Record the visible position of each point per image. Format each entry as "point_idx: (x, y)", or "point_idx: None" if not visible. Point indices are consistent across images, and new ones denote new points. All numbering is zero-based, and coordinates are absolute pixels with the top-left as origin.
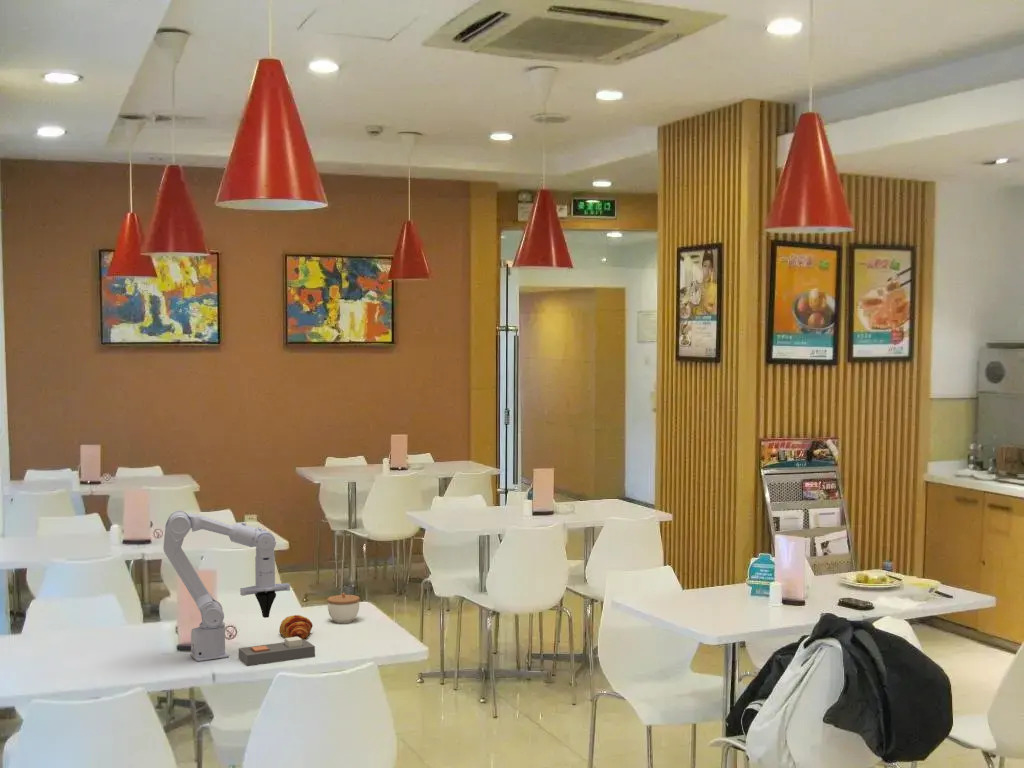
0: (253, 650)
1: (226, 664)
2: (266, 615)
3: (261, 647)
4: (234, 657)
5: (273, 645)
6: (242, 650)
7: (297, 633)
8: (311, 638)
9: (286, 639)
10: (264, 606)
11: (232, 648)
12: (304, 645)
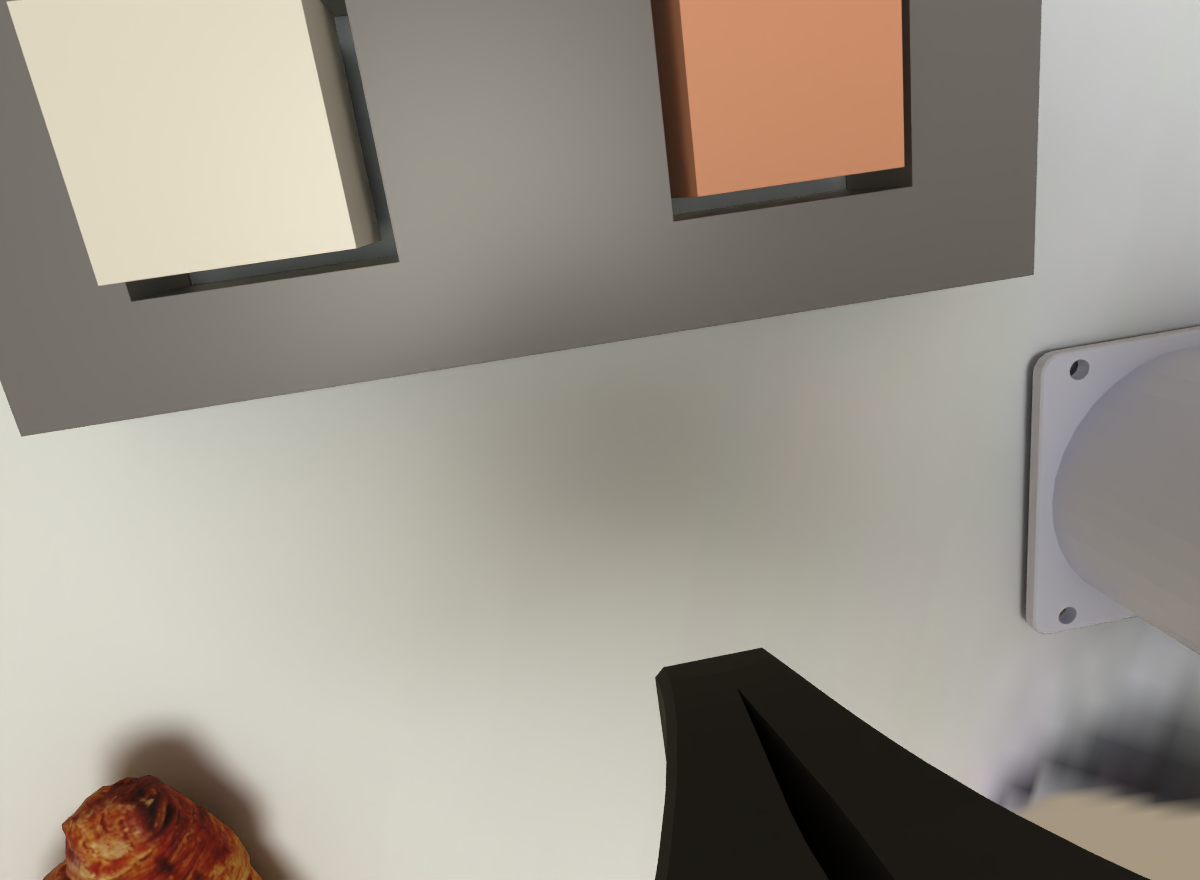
0: (890, 38)
1: (1141, 46)
2: (736, 676)
3: (768, 84)
4: (978, 337)
5: (552, 243)
6: (1023, 121)
7: (138, 819)
8: (3, 871)
9: (331, 136)
10: (948, 817)
11: (904, 702)
12: None
